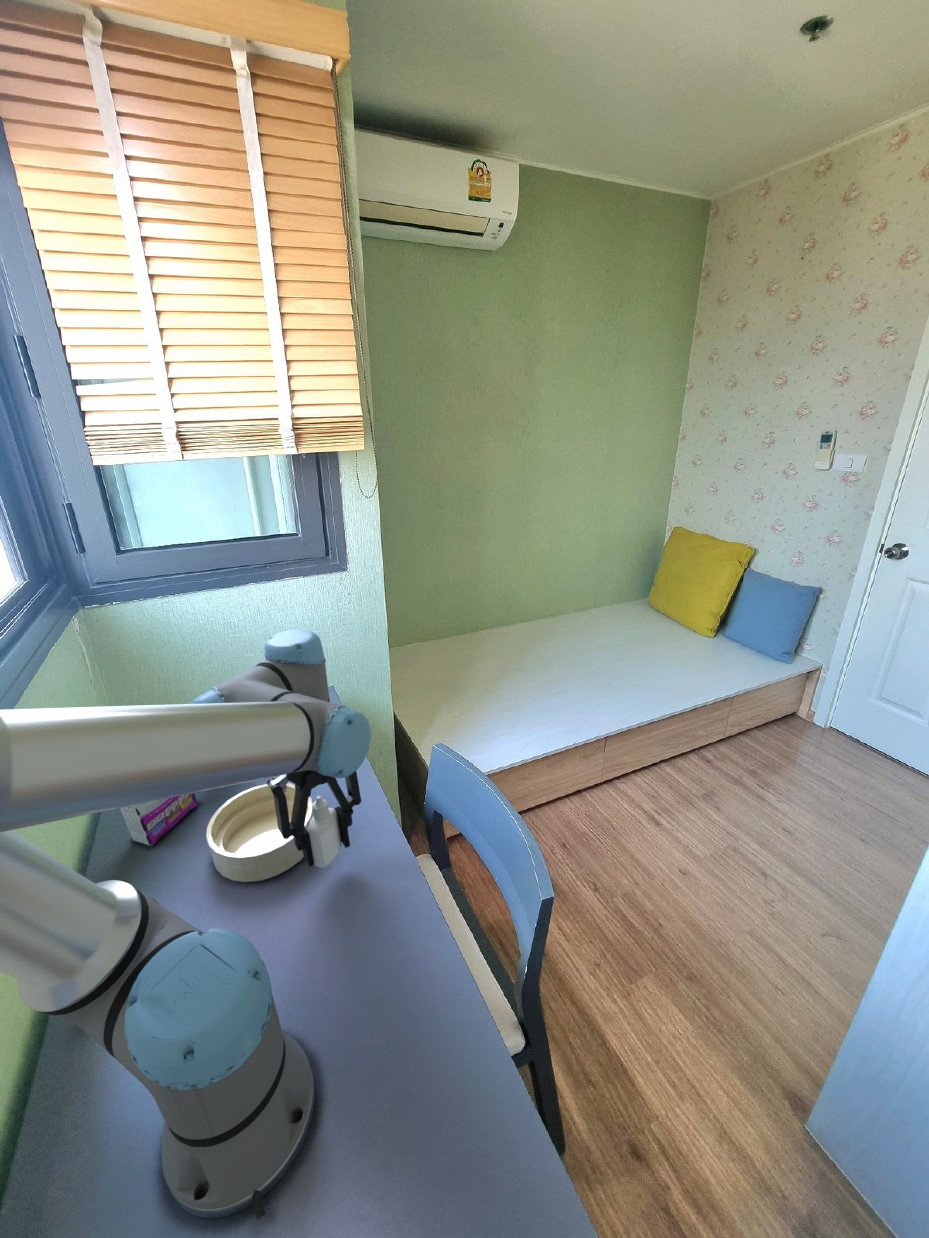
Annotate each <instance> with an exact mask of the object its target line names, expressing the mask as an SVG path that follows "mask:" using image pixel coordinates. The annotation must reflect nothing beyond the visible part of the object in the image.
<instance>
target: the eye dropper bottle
mask: <svg viewBox="0 0 929 1238" xmlns="http://www.w3.org/2000/svg"><path fill="white" fill-rule="evenodd" d="M312 810H313V817H312V819H311V821H310V824H309V827H308V833H309V838H310V844H311V849H312V855H313V861H314V865H313V866H315V867H318V868H321V869H325V868H327V867H328V866H330V865H331V864H332V863H333V862H335V860H336V859H337V858H338V856H339V854H340V852H341V851H342V845H343V843H342V841H341V835H340V828H339V822H338V816H337V812H336V810H335V808H333V807H329V803H328V801H327V800H326V799H323V798H322V796H321V795H317V796H316V797H315V800H314V802H313V804H312Z"/></svg>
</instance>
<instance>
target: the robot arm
mask: <svg viewBox="0 0 929 1238" xmlns="http://www.w3.org/2000/svg"><path fill="white" fill-rule="evenodd" d="M263 655H264V657H265V660H263V661H261V662H259V663H257V664H256V665H255V666H253V667H251V668H249V669H247V670H245V671H243V672H241V673H239V674H236V675H235V676H232V677H231V678H229V679H228V680H227V679H226V680H225V681H223V682H221V683H219V684H217V685H214V686H211V688H210V689H209V690H207V691H205V692H203V693H202V694H200V695H199V696H196V697H195V698H194V699H192V700H191V701H190V702H189V703H186V704H185V703H179V704H177V703H176V704H146V705H143V704H142V705H141V704H139V705H111V706H110V705H108V706H106V705H105V706H77V707H75V706H74V707H42V708H41V707H40V708H37V707H36V708H5V709H3V708H2V709H1V708H0V973H1V974H4V975H5V976H9V977H11V978H13V979H16V980H17V990H18V996H19V998H20V1000H21V1002H23V1004H24V1005H25V1006H26V1007H28V1008H29V1009H32V1010H34V1011H37V1012H38V1013H42V1014H44V1015H47V1016H50V1017H53V1018H56V1019H58V1020H62V1021H64V1022H67V1023H70V1024H72V1025H74V1026H76V1027H78V1028H80V1029H81V1030H83V1031H84V1032H85V1033H86V1034H87V1035H89V1036H90V1037H91V1038H92V1039H93V1040H94V1041H95V1042H96V1043H98V1045H100V1046H101V1047H102V1048H103V1049H104V1050H105V1051H107V1053H108V1054H109V1055H110V1056H112V1057H113V1058H114V1059H115V1060H116V1061H117V1062H119V1064H120V1065H122V1067H124V1068H125V1069H126V1070H127V1072H129V1073H130V1074H131V1075H133V1076H134V1078H136V1080H137V1081H139V1083H141V1084H142V1085H143V1086H144V1087H145V1089H147V1091H148V1092H149V1093H150V1095H151V1096H152V1098H153V1099H154V1101H155V1103H156V1105H157V1107H158V1109H159V1111H160V1113H161V1116H162V1118H163V1119H164V1125H163V1130H162V1131H163V1132H162V1140H161V1151H160V1152H161V1153H160V1155H161V1157H160V1158H161V1168H162V1173H163V1177H164V1181H165V1183H166V1185H167V1187H168V1189H169V1191H170V1193H171V1195H172V1197H173V1198H174V1200H175V1201H176V1203H177V1204H178V1205H179V1206H180V1207H181V1208H182V1209H183V1210H185V1211H186V1212H187V1213H189V1214H191V1215H193V1216H196V1217H199V1218H205V1219H219V1218H225V1217H228V1216H233V1215H235V1214H238V1213H240V1212H242V1211H244V1210H246V1209H248V1208H249V1207H251V1206H253V1208H254V1212H255V1216H256V1220H260V1219H262V1217H264V1216H265V1214H266V1211H265V1207H264V1202H263V1198H264V1197H265V1196H266V1195H267V1194H268V1193H269V1192H270V1191H271V1190H272V1189H273V1188H274V1187H275V1186H276V1185H277V1184H278V1183H279V1182H280V1181H281V1179H282V1178H283V1177H284V1176H285V1175H286V1173H287V1172H288V1170H289V1169H290V1168H291V1167H292V1164H293V1163H294V1161H295V1160H296V1158H297V1157H298V1154H299V1153H300V1151H301V1149H302V1147H303V1145H304V1143H305V1140H306V1137H307V1135H308V1133H309V1129H310V1126H311V1124H312V1119H313V1114H314V1108H315V1101H316V1100H315V1099H316V1097H315V1096H316V1089H315V1080H314V1074H313V1071H312V1066H311V1064H310V1060H309V1057H308V1056H307V1053H306V1052H305V1050H304V1048H303V1047H302V1045H301V1044H300V1043H299V1042H298V1041H297V1040H296V1039H294V1037H292V1036H291V1035H289V1034H288V1033H286V1032H285V1031H284V1030H283V1029H282V1026H281V1022H280V1019H279V1014H278V1010H277V1007H276V1003H275V1000H274V995H273V992H272V991H273V990H272V982H271V978H270V974H269V971H268V970H267V966H266V964H265V962H264V960H262V958H261V956H260V954H259V952H258V950H257V948H256V947H255V946H254V945H253V943H252V942H251V941H250V940H248V938H246V937H245V936H243V934H241V933H239V932H236V931H235V930H230V929H226V928H220V927H217V928H216V927H213V928H212V927H211V928H209V929H208V930H207V932H203V931H202V930H200V929H198V928H197V927H195V926H194V925H192V924H191V923H189V922H187V920H185V919H183V918H181V917H180V916H178V915H177V914H176V913H174V912H172V911H170V910H169V909H167V908H166V907H165V906H163V904H162V905H161V904H160V903H159V902H158V901H157V900H156V899H155V898H154V897H153V896H151V895H150V894H148V893H146V892H144V891H141V890H140V889H137V888H136V887H135V886H133V885H132V884H130V883H128V882H125V881H124V880H123V881H122V880H117V879H109V880H103V881H99V882H96V883H95V882H93V881H92V880H90V879H89V878H87V877H85V876H84V875H82V874H81V873H79V872H78V871H76V870H74V868H71V867H70V866H68V865H67V864H65V863H63V862H62V861H60V860H58V859H57V858H56V857H54V856H52V855H51V854H49V853H48V852H46V851H44V850H43V849H41V848H40V847H38V846H36V845H35V844H33V843H32V842H30V840H27V839H26V838H24V837H22V836H21V835H20V834H18V833H16V832H15V831H14V830H19V829H24V828H28V827H33V826H34V827H35V826H39V825H43V824H49V823H54V822H57V821H63V820H68V819H73V818H77V817H82V816H88V815H92V814H98V813H101V812H102V813H103V812H107V811H112V810H116V809H117V810H118V809H120V808H122V807H127V806H132V805H137V804H142V803H146V802H151V801H156V800H161V799H166V798H171V797H176V796H181V795H186V794H190V793H194V794H195V793H200V792H204V791H209V790H215V789H219V788H223V787H224V788H225V787H229V786H233V785H238V784H239V785H240V784H244V783H249V782H254V781H258V780H263V779H267V781H266V784H268V786H269V788H270V789H271V791H272V793H273V796H274V803H275V810H276V817H277V823H278V828H279V830H280V832H281V834H282V836H283V838H284V839H288V838H289V837H290V836H293V839H294V844H295V846H296V848H297V849H298V850H299V851H301V850H303V856H304V857H303V858H304V859H305V861H306V863H307V866H308V867H309V868H310V867H312V866H315V865H314V861H313V855H312V849H311V844H310V838H309V833H308V831H307V830H306V828H305V826H304V825H305V818H306V812H307V805H308V799H309V797H311V796H312V795H311V794H312V790H313V789H315V788H317V786H320V785H324V784H327V786H328V787H329V789H330V791H331V793H332V794H333V797H334V798H335V800H336V802H337V804H338V806H336V807H334V809H335V810H336V812H337V816H338V822H339V828H340V835H341V841H342V845H343V847H344V848H345V849H348V848H349V847H351V843H350V834H349V827H351V826H353V816H352V815H353V814H354V812H355V811H354V809H353V808H354V806H359V805H361V803H362V796H361V790H360V785H359V780H358V773H357V771H358V770H359V768H360V767H361V766H362V764H363V762H364V761H365V760H366V757H367V755H368V753H369V749H370V742H371V740H372V728H371V724H370V721H369V719H368V718H367V717H366V716H365V714H363V713H362V712H360V711H357V710H355V709H352V708H350V707H348V706H346V705H345V704H338V703H333V702H331V699H330V692H329V682H328V675H327V667H326V657H325V653H324V649H323V645H322V640H321V638H320V637H319V635H318V634H316V633H315V632H313V631H310V630H307V629H306V630H305V629H290V630H284V631H281V632H278V633H275V634H273V635H271V636H270V637H269V638H268V640H266V641H265V643H264V654H263ZM274 777H276V778H274ZM268 778H269V779H268ZM337 779H344V780H345V785H346V791H347V796H345V794H344V792H343V790H342V787H341V786H340V784H339V783H338V780H337ZM288 782H290V783H291V784H293V785H295V797H294V803H293V810H292V817H291V822H290V821H289V814H288V807H287V800H286V796H285V794H284V793H285V792H286V789H287V783H288Z"/></svg>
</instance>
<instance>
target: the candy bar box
mask: <svg viewBox="0 0 929 1238" xmlns="http://www.w3.org/2000/svg"><path fill="white" fill-rule="evenodd" d="M198 805H199V804H198V802H197V798H196V795H195V793H190V794H186V795H181V796H176V797H171V798H166V799H161V800H156V801H151V802H146V803H142V804H137V805H132V806H127V807H122V808H119V809H120V813H121V814H122V818H123V820H124V822H125V824H126V827H127V829H128V832H129V835H130V837H131V839H132V841H133V842H136V843H140V844H143V845H146V846H149V847H153V846H154V845H155V844H157V842H158V841H160V840H161V839H162V838H163V837H164V836H165V835H166V834H167V833H168V832H170V830H172V829H173V828H174V827H175V826H176V825H177V824H178V823H179V822H180V821H181V820H183V818H184V817H186V816H187V815H188V814H189V813H190V812H191V811H193V809H194V808H196V807H197V806H198Z"/></svg>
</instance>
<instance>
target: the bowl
mask: <svg viewBox="0 0 929 1238" xmlns="http://www.w3.org/2000/svg"><path fill="white" fill-rule="evenodd" d="M284 794H285V796H286V800H287V807H288V814H289V821H290V822H291V817H292V810H293V803H294V797H295V784H294V783H291V782H290V783H288V782H287V789H286V792H285V793H284ZM313 803H314V802H313V799H312V796H310V797H309V799H308V805H307V812H306V818H305V825H304V826H305V828H306V830H307V831H308V827H309V824H310V821H311V819H312V817H313V810H312V804H313ZM205 838H206V842H207V845H208V848H209V852H210V855H211V858H212V862H213V864H214V867H215V870H216V871H217V872H218V873H219V874H220V875H221V876H222V877H224V878H227V879H229V880H231V881H233V882H241V883H249V882H250V883H252V882H260V881H264V880H268V879H271V878H274V877H276V876H278V875H280V874H282V873H284V872H286V871H288V870H289V869H291V868H293V867H294V866H295V865H296V864H298V863H299V862H300V861H302V859H303V858H304V856H303V850H301V851H299V850H298V849H297V848H296V846H295V844H294V839H293V836H290V837H289V838H288V839H284V838H283V836H282V834H281V832H280V830H279V828H278V823H277V817H276V810H275V803H274V796H273V793H272V791H271V789H270V788H269V786H268V784H267V783H264V784H260V785H257V786H256V785H255V786H253V787H250V788H248V789H246V790H243V791H241V792H239V793H238V794H236V795H234V796H232V797H231V798H229V799H228V800H226V801H225V802H224V803H223V804H222V805H221V806H220V807H219V808H218V809H217V810H216V811H215V812H214V814H213V815H212V816H211V818H210V820H209V822H208V824H207V826H206V833H205Z"/></svg>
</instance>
